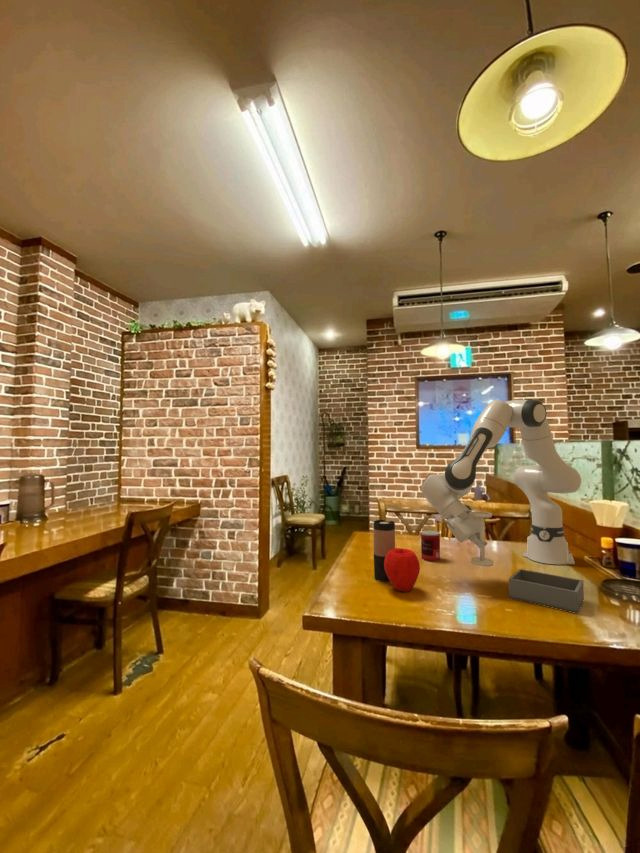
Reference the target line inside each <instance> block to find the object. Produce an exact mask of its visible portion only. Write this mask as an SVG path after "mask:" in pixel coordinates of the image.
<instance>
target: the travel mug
mask: <svg viewBox="0 0 640 853" xmlns="http://www.w3.org/2000/svg"><path fill="white" fill-rule="evenodd" d="M395 523H396V522H395V521H393V520H390V521H386V520H385V519H377V520H373V570H374V572H373V573H374V580H376V581H378V580H379V581H378V582H382V581H383V583H385V582H386V583H389V582H390V580H389V579H388V577H387V575H386V572H385V569H384V560H385V557H386V554H387V553H388V552H389V551H390V550H392V549H394V548H396V529H395V528H396V526H395V525H396V524H395ZM390 583H391V582H390Z"/></svg>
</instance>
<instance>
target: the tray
mask: <svg viewBox="0 0 640 853" xmlns="http://www.w3.org/2000/svg"><path fill="white" fill-rule="evenodd" d="M584 591H585V589H584V580H583V579H577V578H571V577H566V576H562V575H561V576H560V575H556V574H549V573H545V572H539V571H535V570H528V569H522V568H518V569H517V570H516V571H515V572H514V573H513V574H512V575H511V576H510V577H509V578H508V599H510V598H511V599H510V600H515V599H516V601H519V600H522V601H521V602H523V601H526V602H525V603H528V602H531V603H530V604H532V603H536V604H540V605H539V606H541V605H545V606H549V607H553V608H552V609H554V608H557V609H556V610H558V609H562V610H566V611H565V612H567V611H571V612H575V613H578V612H579V613H580V611H579V609H580V610H581V608H582V606H581V605H583V604H582V602H583V603H584V601H585V596H584V595H585V593H584ZM583 600H584V601H583ZM536 604H535V605H536ZM545 606H544V607H545ZM549 607H548V608H549ZM580 607H581V608H580ZM562 610H561V611H562ZM571 612H570V613H571ZM575 613H574V614H575ZM579 613H578V614H579Z"/></svg>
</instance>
